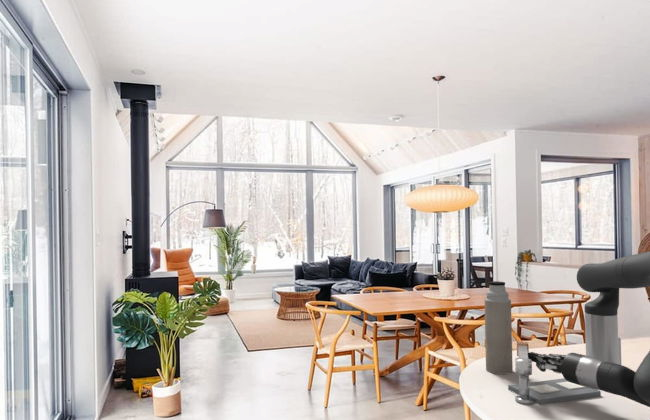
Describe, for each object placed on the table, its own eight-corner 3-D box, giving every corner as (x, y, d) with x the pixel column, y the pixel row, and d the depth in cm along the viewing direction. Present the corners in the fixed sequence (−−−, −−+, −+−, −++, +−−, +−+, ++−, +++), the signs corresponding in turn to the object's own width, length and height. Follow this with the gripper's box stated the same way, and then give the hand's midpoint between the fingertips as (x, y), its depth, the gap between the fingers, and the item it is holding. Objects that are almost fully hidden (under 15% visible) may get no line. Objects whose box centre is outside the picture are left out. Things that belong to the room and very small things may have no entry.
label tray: (566, 382, 141) (566, 376, 141) (600, 395, 129) (600, 390, 129) (508, 389, 135) (508, 384, 135) (539, 404, 123) (538, 398, 123)
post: (525, 397, 128) (525, 371, 129) (537, 403, 124) (536, 376, 124) (511, 399, 127) (511, 373, 127) (523, 405, 123) (522, 378, 123)
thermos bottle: (510, 367, 156) (508, 280, 157) (514, 374, 148) (512, 283, 149) (484, 366, 157) (482, 280, 158) (487, 373, 150) (485, 282, 151)
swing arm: (532, 376, 123) (531, 361, 123) (515, 375, 125) (515, 360, 125) (530, 355, 144) (529, 342, 144) (515, 354, 145) (515, 341, 145)
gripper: (603, 352, 124) (544, 339, 139) (569, 359, 118) (512, 345, 133) (604, 382, 124) (545, 366, 139) (570, 390, 118) (513, 372, 133)
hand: (529, 355), depth 136 cm, fingers closed
